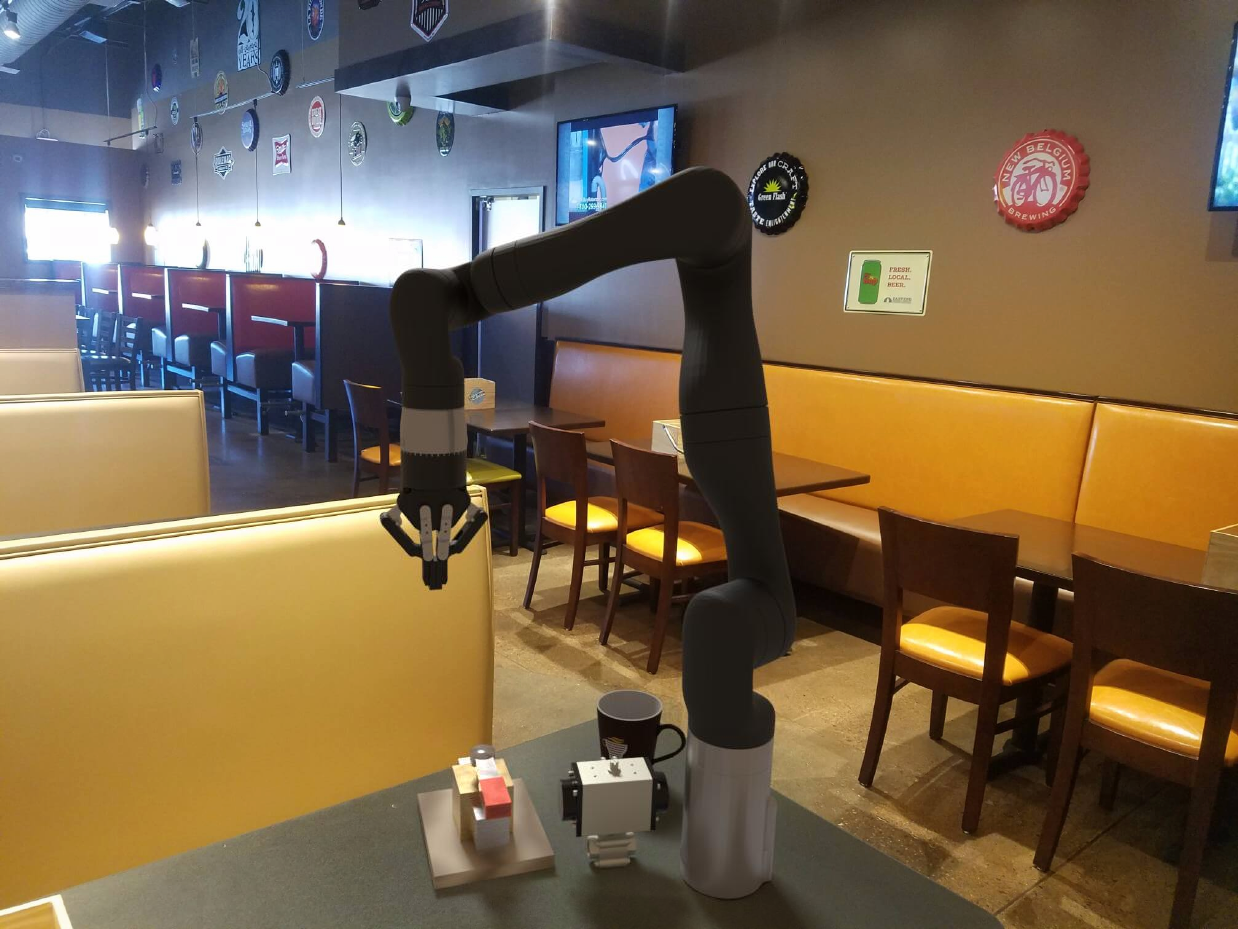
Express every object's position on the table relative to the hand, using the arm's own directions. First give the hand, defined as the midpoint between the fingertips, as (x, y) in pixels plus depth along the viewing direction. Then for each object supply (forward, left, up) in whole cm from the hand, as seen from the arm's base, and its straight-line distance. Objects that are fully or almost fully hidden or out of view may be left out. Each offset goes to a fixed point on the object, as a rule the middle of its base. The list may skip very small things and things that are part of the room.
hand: (434, 587), depth 104 cm
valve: (-4, +10, -25) cm, 28 cm away
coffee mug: (-25, +4, -27) cm, 37 cm away
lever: (-4, +15, -18) cm, 24 cm away
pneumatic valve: (-17, +18, -27) cm, 37 cm away
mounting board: (-4, +10, -27) cm, 29 cm away
